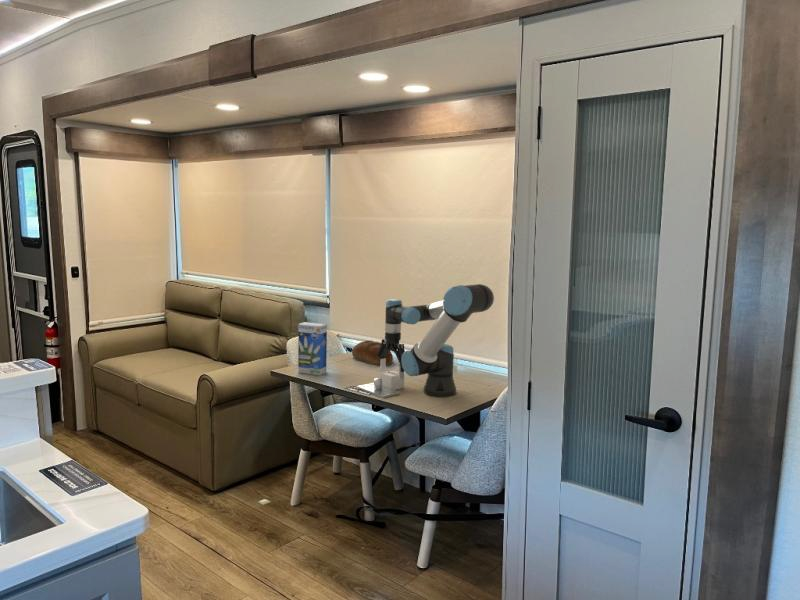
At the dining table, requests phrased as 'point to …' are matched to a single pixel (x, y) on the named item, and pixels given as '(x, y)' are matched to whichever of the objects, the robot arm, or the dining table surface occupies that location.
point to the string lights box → (312, 348)
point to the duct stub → (378, 389)
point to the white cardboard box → (392, 380)
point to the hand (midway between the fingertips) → (391, 375)
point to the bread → (370, 353)
